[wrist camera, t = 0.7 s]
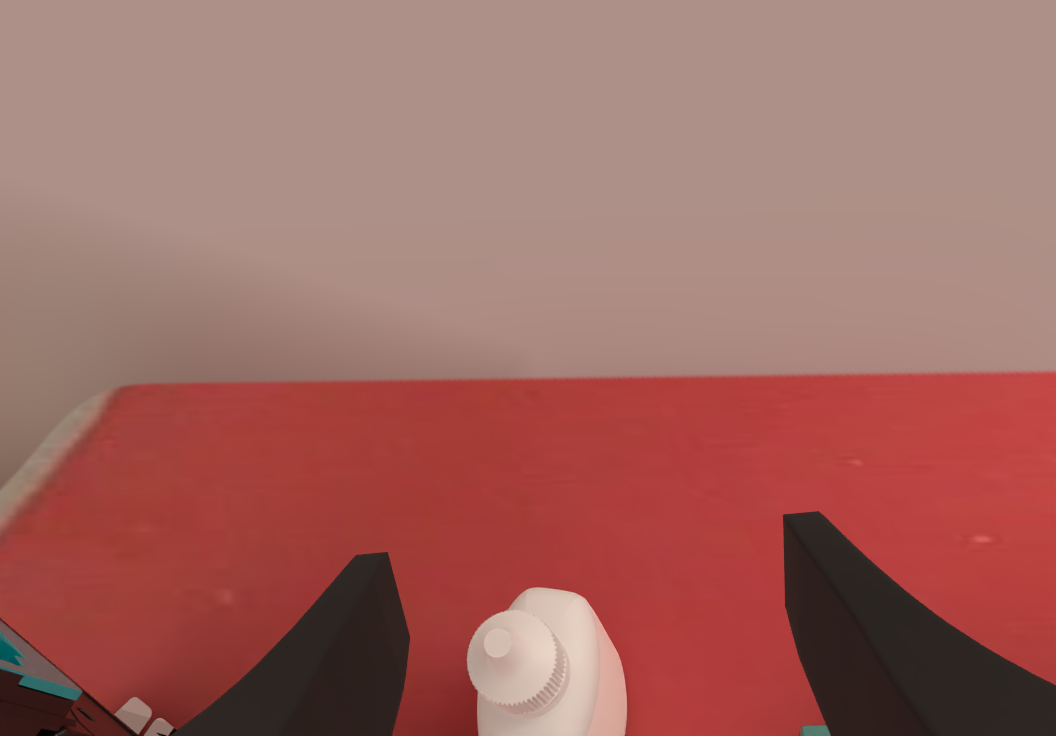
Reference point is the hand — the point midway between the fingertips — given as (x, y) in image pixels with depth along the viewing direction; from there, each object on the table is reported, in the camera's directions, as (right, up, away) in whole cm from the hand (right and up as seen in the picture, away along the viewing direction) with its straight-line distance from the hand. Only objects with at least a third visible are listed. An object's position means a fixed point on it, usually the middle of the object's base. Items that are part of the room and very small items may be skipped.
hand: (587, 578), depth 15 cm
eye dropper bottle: (+1, -9, +15) cm, 18 cm away
